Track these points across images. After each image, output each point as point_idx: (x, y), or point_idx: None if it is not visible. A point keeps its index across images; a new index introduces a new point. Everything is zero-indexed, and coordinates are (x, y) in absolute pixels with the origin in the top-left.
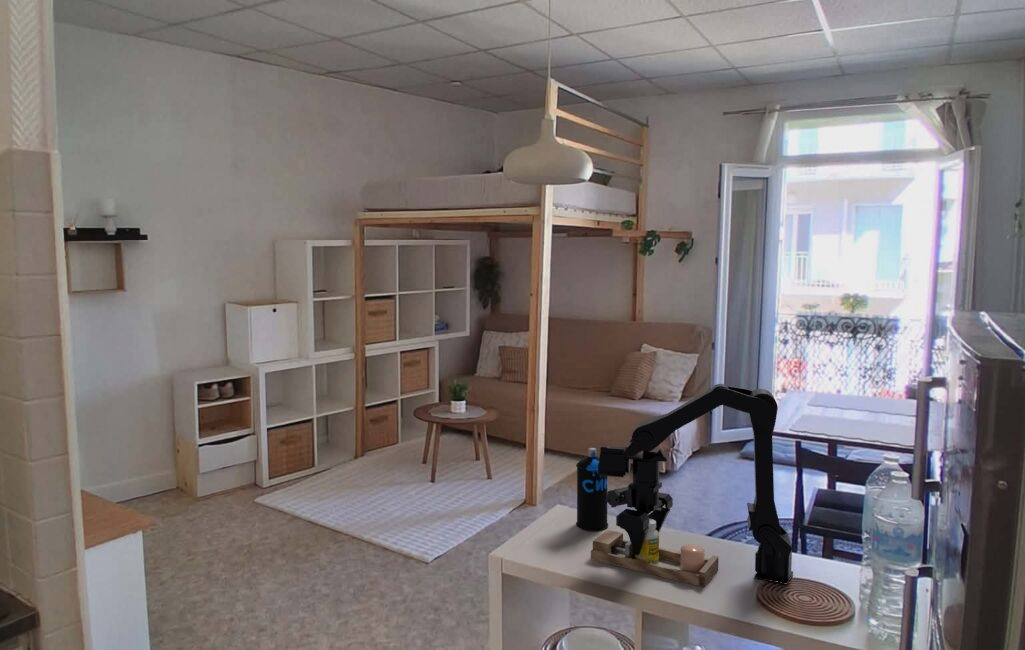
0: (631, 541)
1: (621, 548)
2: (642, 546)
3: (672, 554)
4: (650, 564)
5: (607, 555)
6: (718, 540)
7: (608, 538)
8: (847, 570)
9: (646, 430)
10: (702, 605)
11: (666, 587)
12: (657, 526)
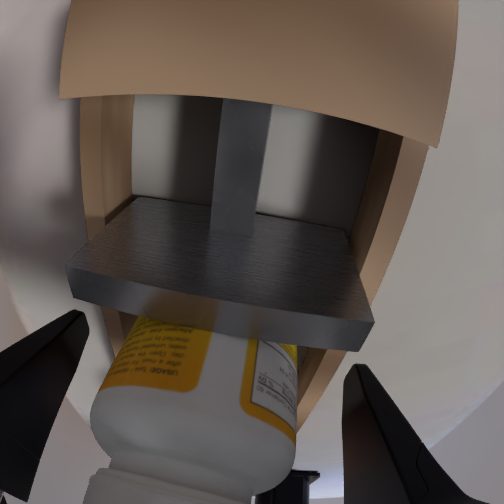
0: (4, 356)
1: (256, 144)
2: (65, 384)
3: (298, 396)
4: (114, 346)
5: (86, 97)
6: (472, 409)
7: (194, 19)
8: (337, 496)
9: None
10: (78, 401)
11: (84, 356)
12: (351, 479)
